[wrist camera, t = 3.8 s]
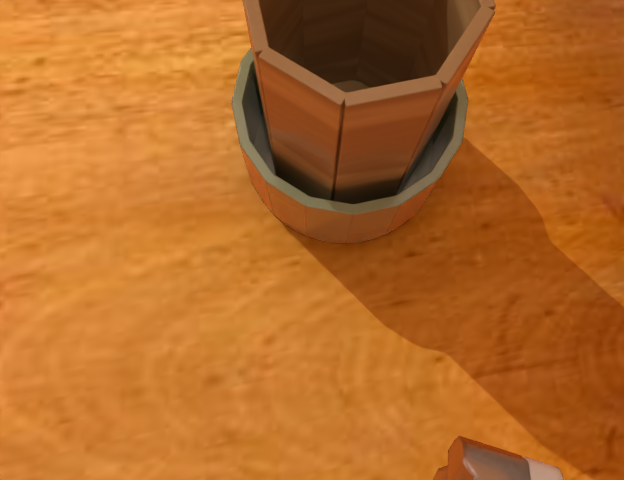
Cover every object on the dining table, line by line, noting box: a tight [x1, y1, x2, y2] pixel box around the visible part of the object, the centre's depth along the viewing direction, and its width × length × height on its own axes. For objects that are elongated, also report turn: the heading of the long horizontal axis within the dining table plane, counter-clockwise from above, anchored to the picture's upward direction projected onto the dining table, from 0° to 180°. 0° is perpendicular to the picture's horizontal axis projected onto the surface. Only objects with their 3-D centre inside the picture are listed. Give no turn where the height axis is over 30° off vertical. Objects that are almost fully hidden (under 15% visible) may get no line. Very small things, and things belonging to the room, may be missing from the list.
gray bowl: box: [232, 48, 468, 243], centre depth 24 cm, size 9×9×5 cm
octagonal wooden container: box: [243, 0, 496, 204], centre depth 21 cm, size 6×6×11 cm
